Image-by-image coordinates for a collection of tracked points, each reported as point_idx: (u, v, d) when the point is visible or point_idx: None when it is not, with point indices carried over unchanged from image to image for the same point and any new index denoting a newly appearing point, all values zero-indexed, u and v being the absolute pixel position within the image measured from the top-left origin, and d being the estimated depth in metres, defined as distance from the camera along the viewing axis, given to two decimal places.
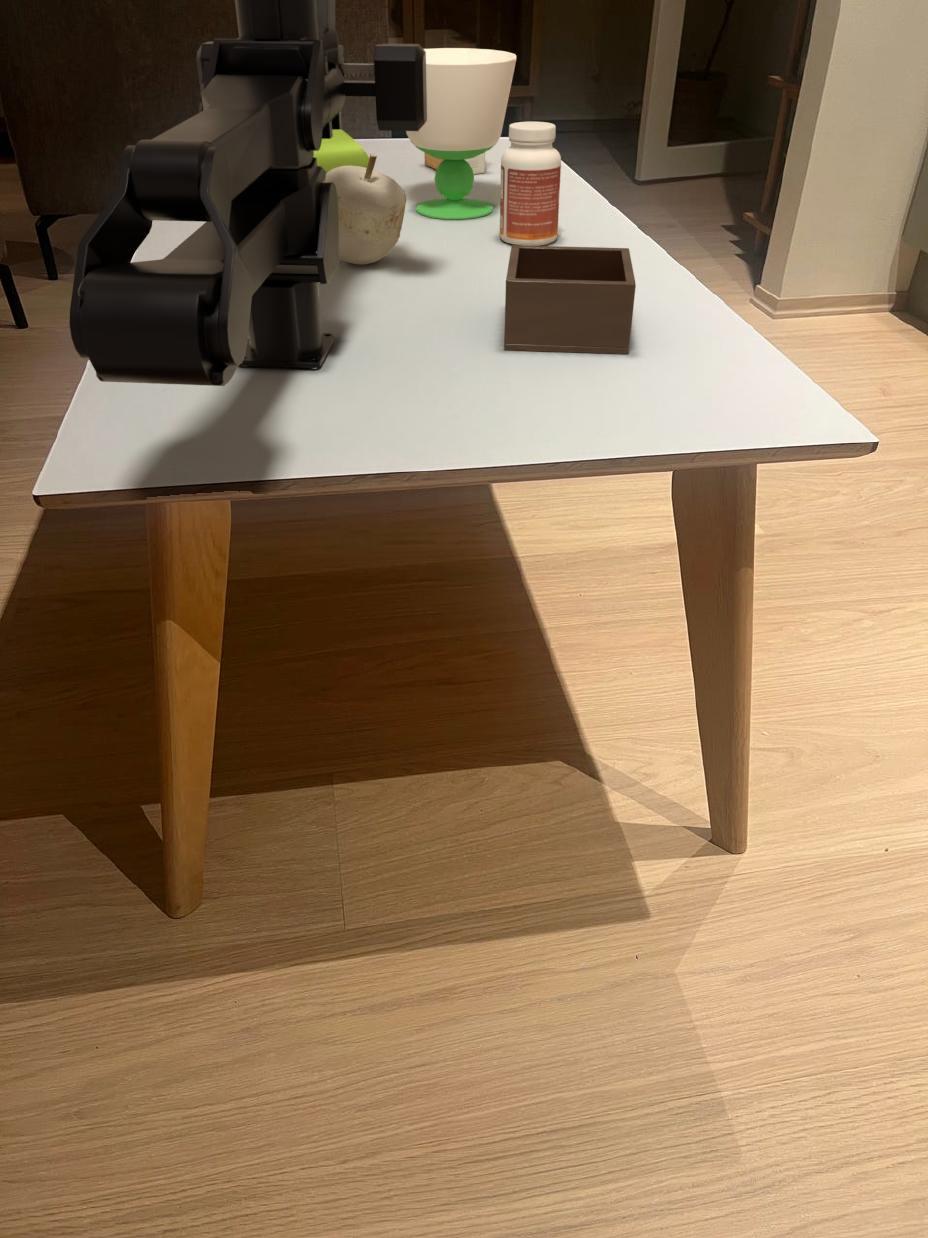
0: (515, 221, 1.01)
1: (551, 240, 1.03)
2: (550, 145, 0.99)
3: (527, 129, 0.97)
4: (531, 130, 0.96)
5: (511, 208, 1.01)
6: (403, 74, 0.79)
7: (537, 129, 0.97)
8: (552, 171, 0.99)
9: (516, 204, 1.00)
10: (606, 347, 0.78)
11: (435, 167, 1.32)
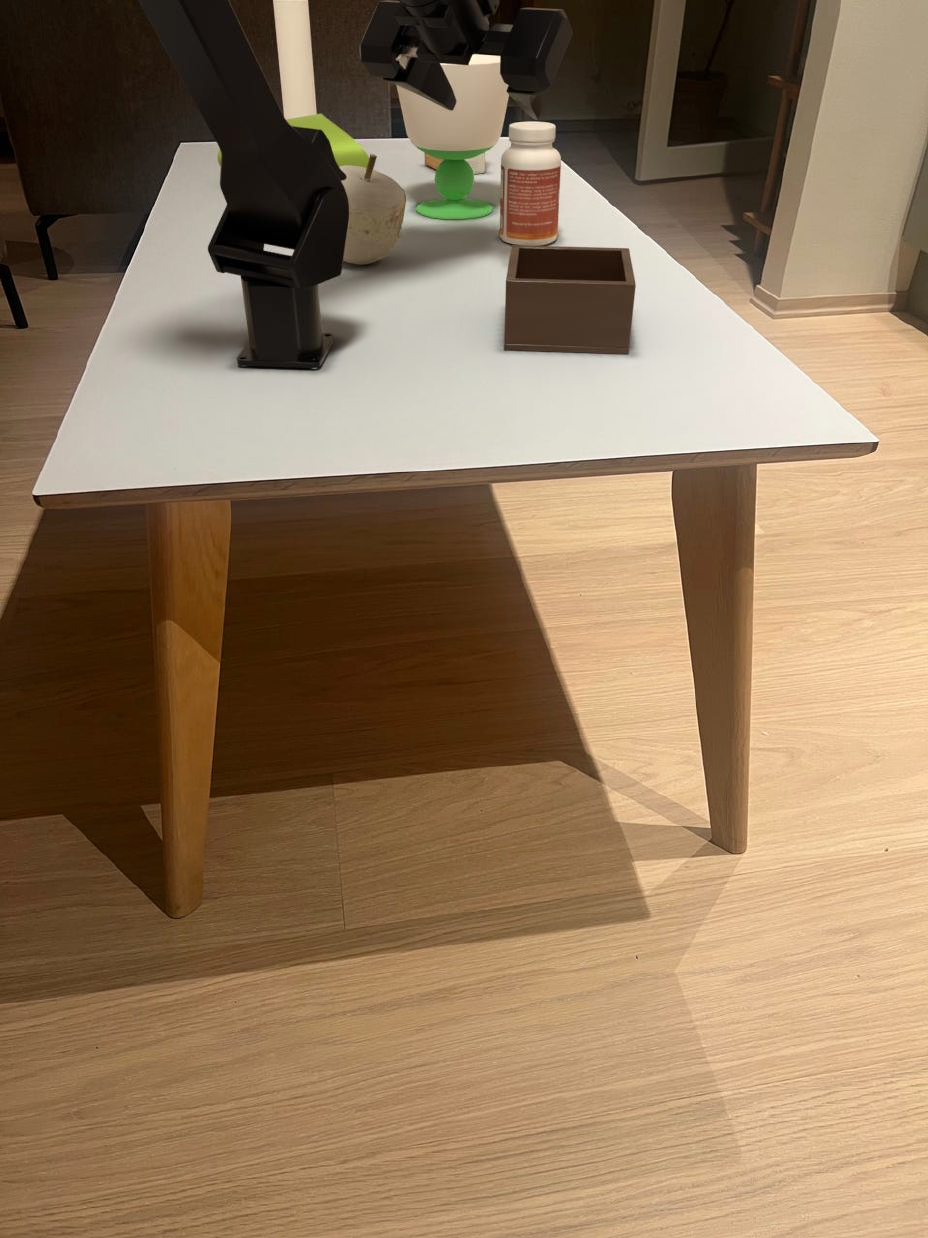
0: (515, 221, 1.01)
1: (551, 240, 1.03)
2: (550, 145, 0.99)
3: (527, 129, 0.97)
4: (531, 130, 0.96)
5: (511, 208, 1.01)
6: (540, 20, 0.79)
7: (537, 129, 0.97)
8: (552, 171, 0.99)
9: (516, 204, 1.00)
10: (606, 347, 0.78)
11: (435, 167, 1.32)
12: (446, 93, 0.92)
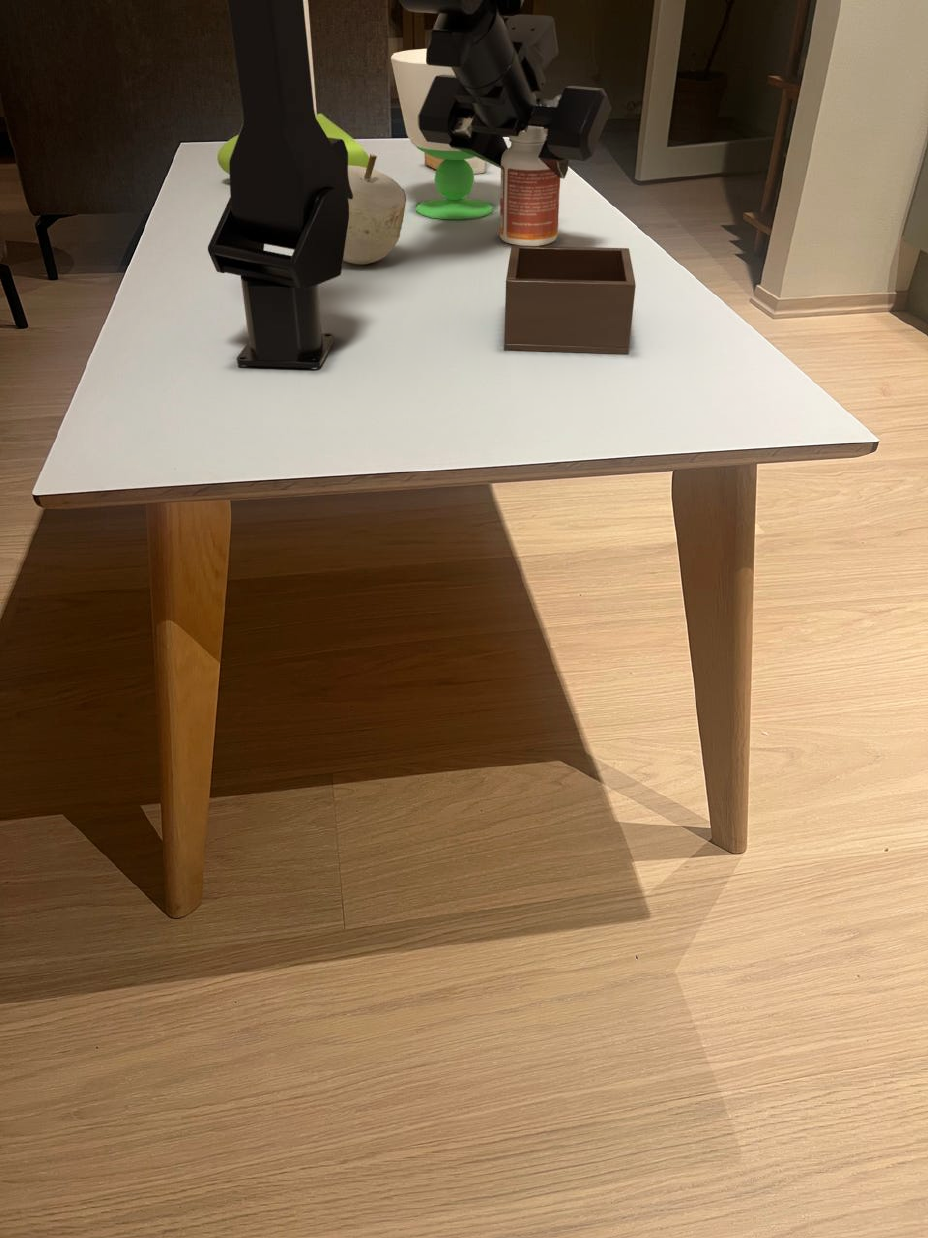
0: (515, 221, 1.01)
1: (551, 240, 1.03)
2: None
3: (527, 129, 0.97)
4: (531, 130, 0.96)
5: (511, 208, 1.01)
6: (583, 98, 0.90)
7: (537, 129, 0.97)
8: (552, 171, 0.99)
9: (516, 204, 1.00)
10: (606, 347, 0.78)
11: (435, 167, 1.32)
12: None
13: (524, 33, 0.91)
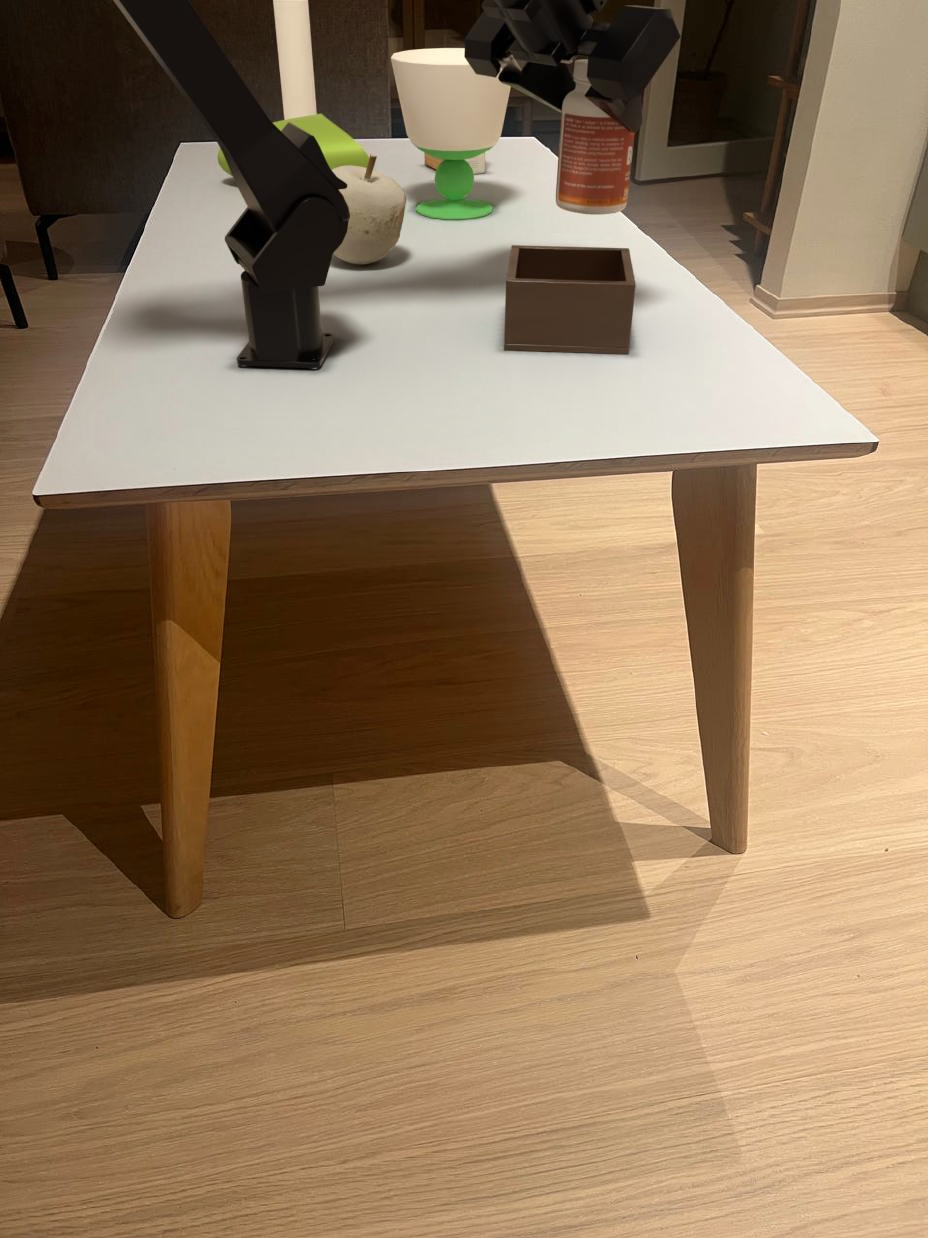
0: (567, 181, 0.82)
1: (612, 210, 0.83)
2: None
3: None
4: None
5: (564, 164, 0.82)
6: (639, 19, 0.69)
7: None
8: None
9: (569, 159, 0.81)
10: (606, 347, 0.78)
11: (435, 167, 1.32)
12: None
13: None
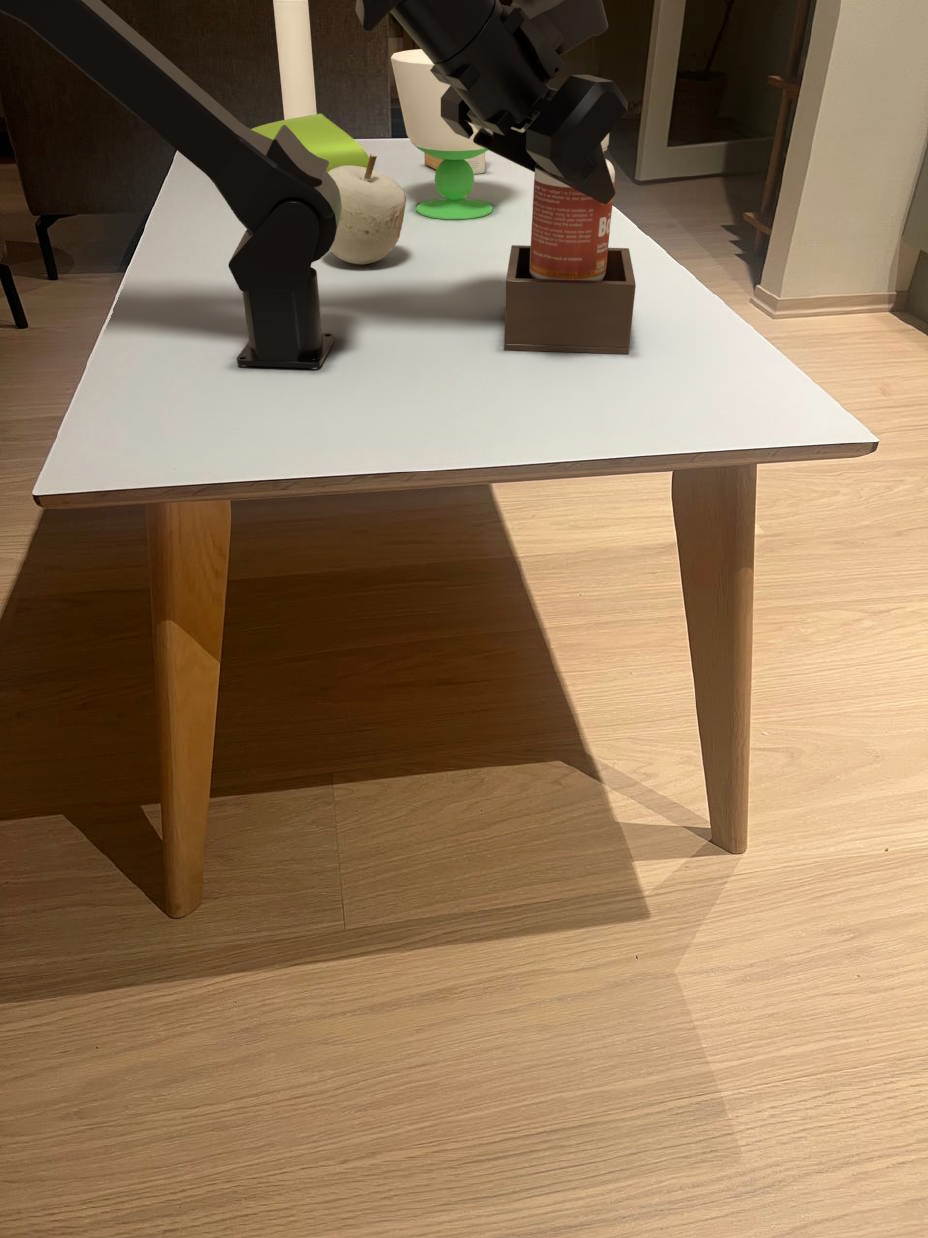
0: (535, 250, 0.77)
1: None
2: None
3: None
4: None
5: (533, 232, 0.77)
6: (578, 92, 0.64)
7: None
8: None
9: (537, 228, 0.76)
10: (606, 347, 0.78)
11: (435, 167, 1.32)
12: None
13: None
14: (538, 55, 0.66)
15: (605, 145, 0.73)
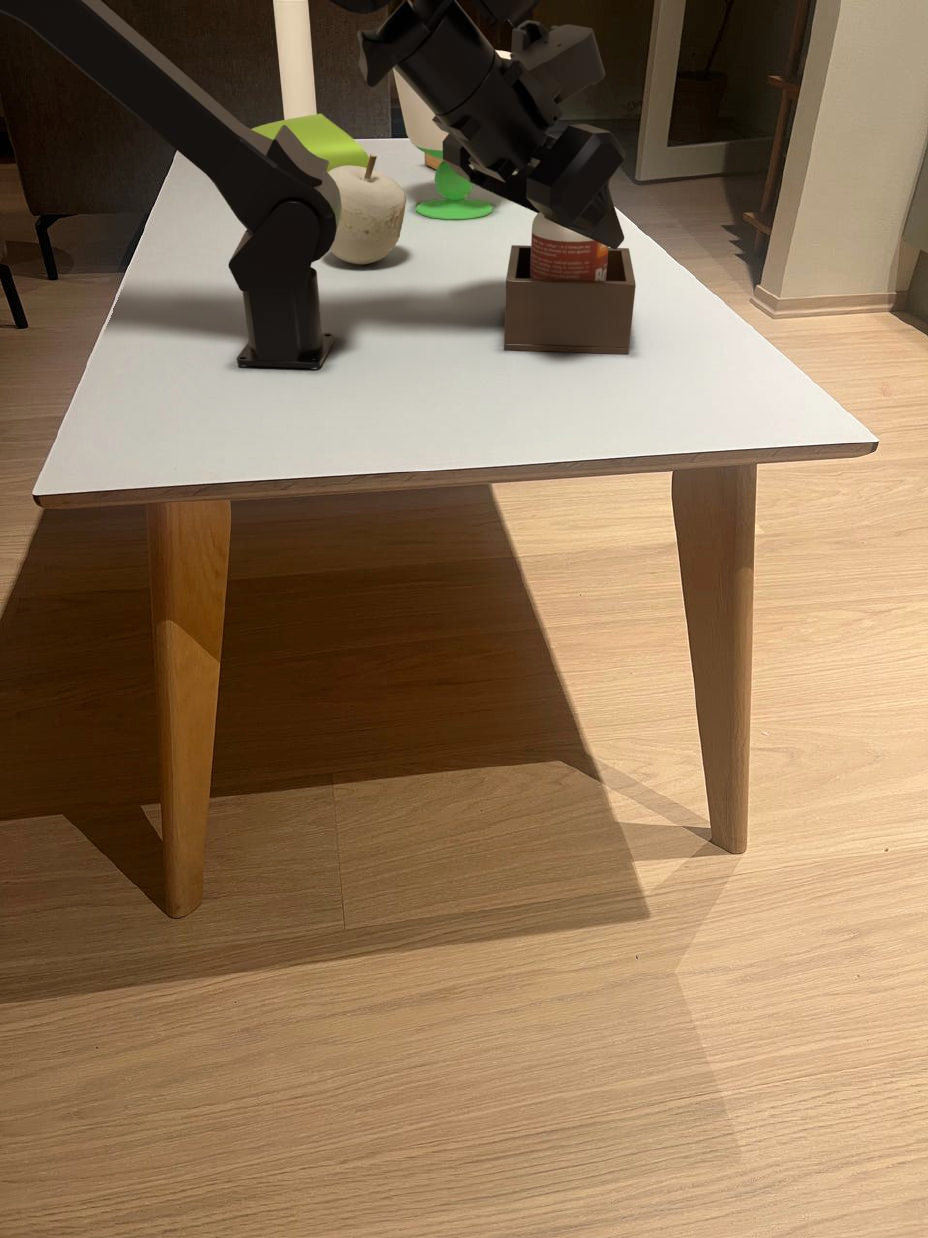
0: None
1: None
2: None
3: None
4: None
5: None
6: (576, 143, 0.65)
7: None
8: (579, 245, 0.75)
9: None
10: (606, 347, 0.78)
11: (435, 167, 1.32)
12: None
13: (548, 49, 0.69)
14: (537, 105, 0.68)
15: None
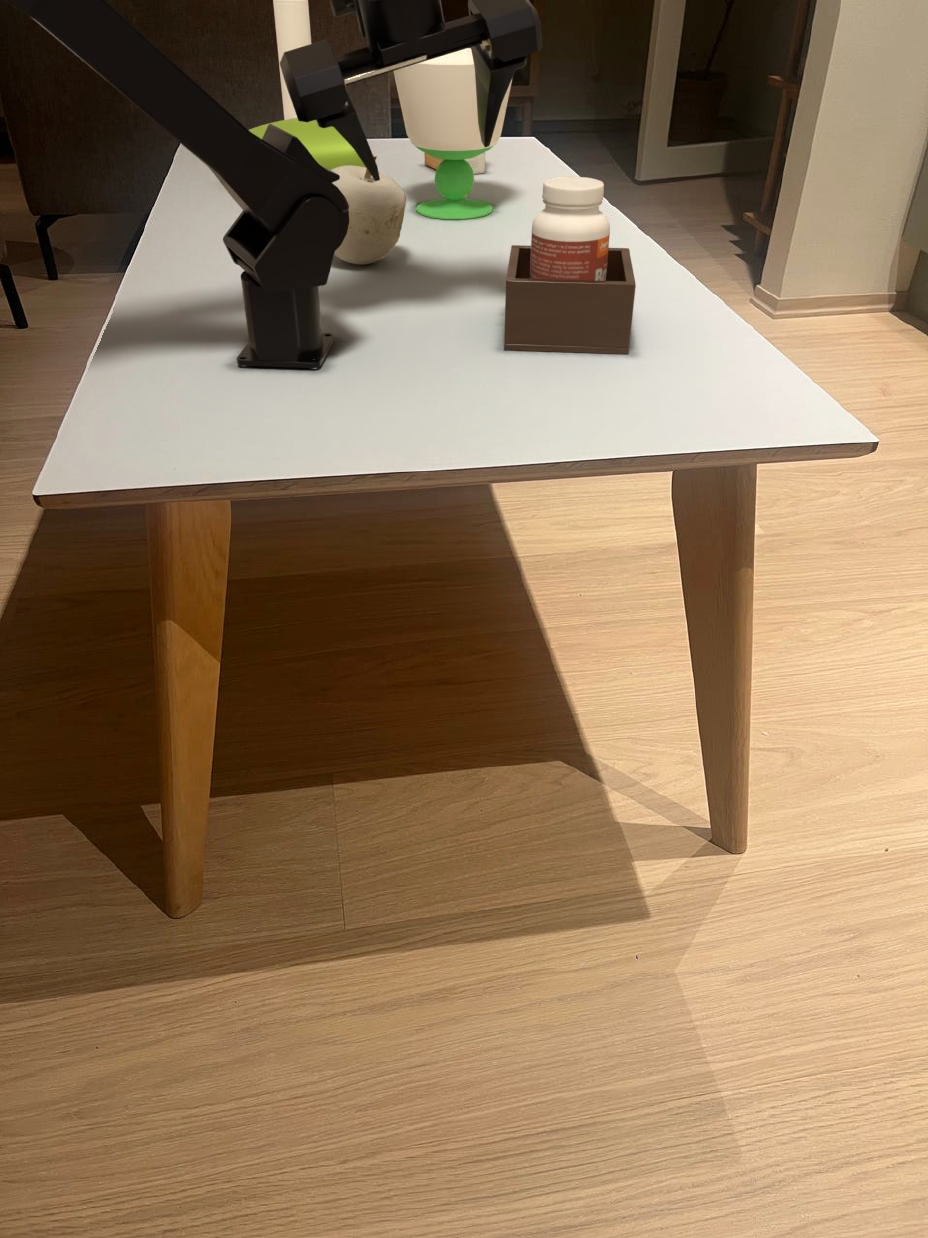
0: None
1: None
2: (587, 211, 0.75)
3: (552, 187, 0.74)
4: (556, 189, 0.74)
5: None
6: None
7: (563, 189, 0.74)
8: (579, 245, 0.75)
9: None
10: (606, 347, 0.78)
11: (435, 167, 1.32)
12: None
13: None
14: None
15: (600, 200, 0.75)
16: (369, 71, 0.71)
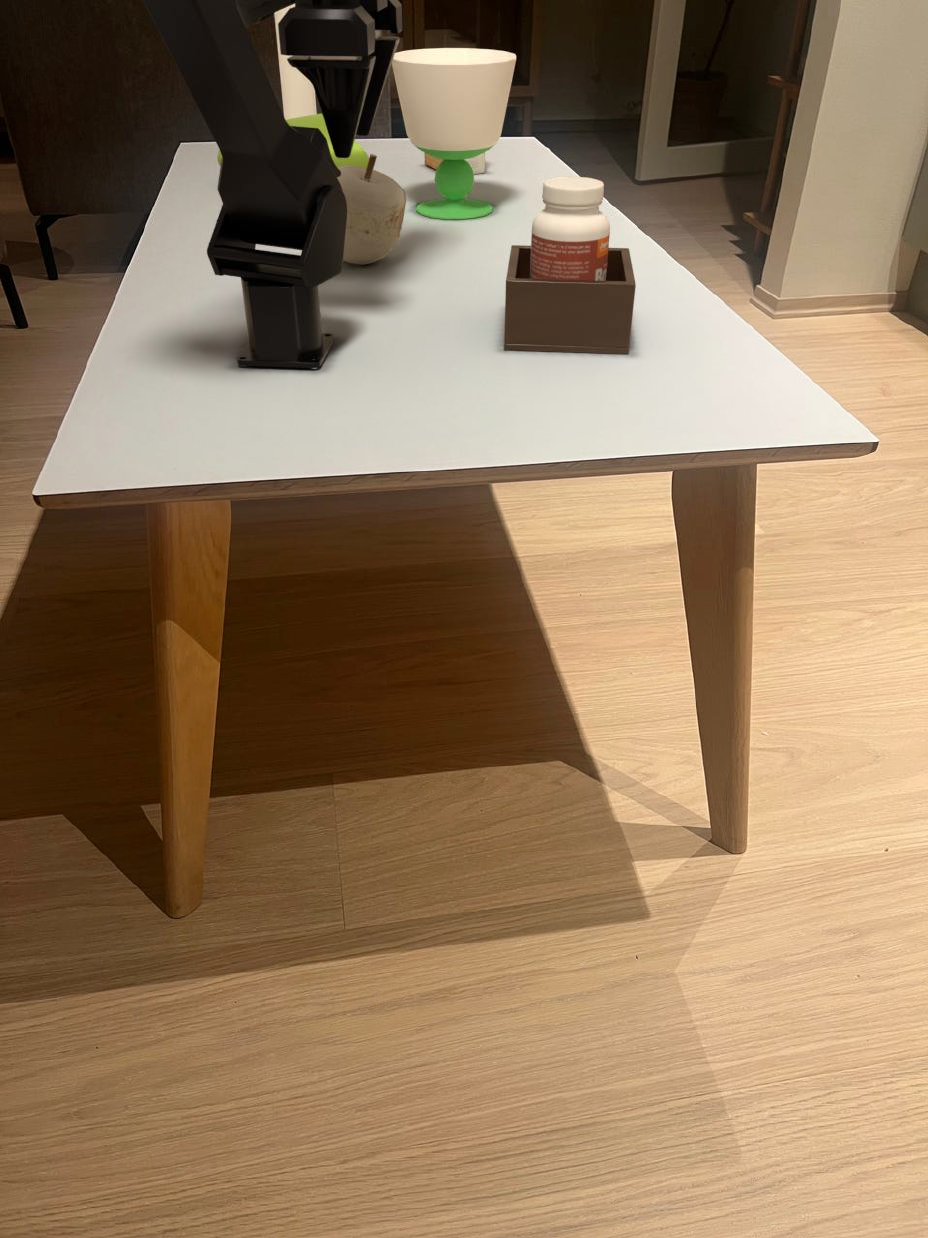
0: None
1: None
2: (587, 211, 0.75)
3: (552, 187, 0.74)
4: (556, 189, 0.74)
5: None
6: None
7: (563, 189, 0.74)
8: (579, 245, 0.75)
9: None
10: (606, 347, 0.78)
11: (435, 167, 1.32)
12: None
13: None
14: None
15: (600, 200, 0.75)
16: None
